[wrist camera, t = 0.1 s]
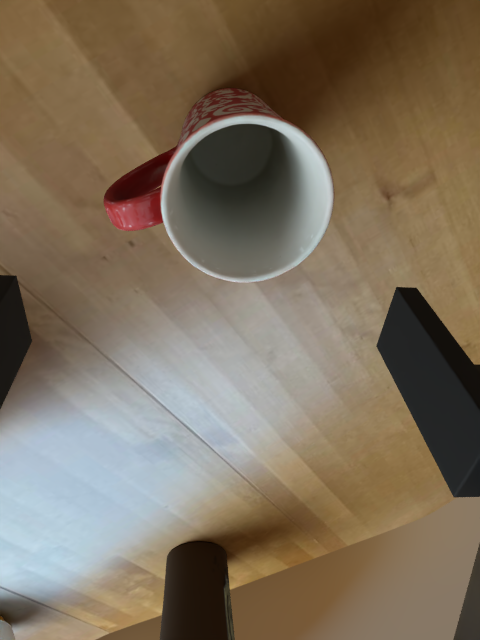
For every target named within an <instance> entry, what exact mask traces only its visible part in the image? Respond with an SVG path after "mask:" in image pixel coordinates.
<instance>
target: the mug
mask: <svg viewBox="0 0 480 640" xmlns="http://www.w3.org/2000/svg"><path fill="white" fill-rule="evenodd" d="M160 185H161V187H159V186H160ZM157 187H159V188H157ZM156 188H157V189H156ZM154 189H155V190H154ZM333 204H334V185H333V178H332V174H331V170H330V168H329V165H328V162H327V160H326V158H325V156H324V154H323V153H322V151H321V149H320V148H319V147H318V145H317V144H316V143H315V141H314V140H313V139H312V138H311V137H310V136H309V135H308V134H307V133H306V132H305V131H303V130H302V129H300V128H299V127H298V126H296V125H294V124H293V123H291V122H289V121H287V120H285V119H283V118H282V117H280V116H279V115H278V114H277V113H276V112H274V111H273V110H272V109H271V108H270V107H269V106H268V105H267V104H266V103H265V102H264V101H262V100H261V99H260V98H259V97H258V96H256V95H254V94H252V93H251V92H248V91H245V90H242V89H237V88H225V89H220V90H216V91H213V92H211V93H209V94H207V95H206V96H204V97H203V98H201V99H200V100H199V101H198V102H197V103H196V104H195V105H194V106H193V107H192V109H191V110H190V112H189V114H188V115H187V117H186V119H185V122H184V125H183V128H182V133H181V136H180V139H179V142H178V145H177V146H176V147H175V148H173V149H171V150H169V151H167V152H165V153H163V154H161V155H159V156H157V157H155V158H153V159H151V160H149V161H147V162H145V163H144V164H142V165H140V166H138V167H137V168H135V169H134V170H132V171H130V172H129V173H127V174H125V175H124V176H122V177H121V178H120V179H118V180H117V181H116V182H115V183H114V184H112V185H111V186H110V187H109V189H108V190H107V191H106V193H105V196H104V206H105V209H106V212H107V214H108V216H109V218H110V220H111V222H112V223H113V225H114V226H115V227H117V228H118V229H121V230H126V231H134V230H141V229H145V228H148V227H152V226H155V225H158V224H160V223H162V222H164V225H165V228H166V230H167V233H168V235H169V237H170V239H171V241H172V243H173V244H174V246H175V247H176V248H177V250H178V251H179V252H180V254H181V255H182V256H183V257H184V258H185V259H186V260H187V261H188V262H190V263H191V264H192V265H193V266H194V267H196V268H197V269H199V270H200V271H202V272H204V273H206V274H208V275H210V276H213V277H216V278H218V279H222V280H226V281H232V282H257V281H262V280H267V279H270V278H273V277H276V276H279V275H281V274H283V273H285V272H287V271H289V270H291V269H292V268H294V267H296V266H297V265H298V264H300V263H301V262H302V261H303V260H305V259H306V258H307V257H308V256H309V255H310V254H311V253H312V251H313V250H314V249H315V248H316V247H317V245H318V244H319V242H320V241H321V239H322V238H323V236H324V234H325V232H326V230H327V227H328V225H329V222H330V219H331V215H332V211H333Z"/></svg>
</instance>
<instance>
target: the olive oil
mask: <svg viewBox="0 0 480 640" xmlns="http://www.w3.org/2000/svg"><path fill="white" fill-rule="evenodd" d="M160 640H235V638H234V630H233V619H232V609H231V599H230V588H229V578H228V566H227V555H226V552H225V550H224V549H223V548H221V547H220V546H218V545H216V544H213V543H208V542H192V543H186V544H183V545H180V546H178V547H176V548H174V549H173V550H172V551H171V552H170V553H169V554H168V556H167V563H166V576H165V590H164V601H163V611H162V622H161V633H160Z"/></svg>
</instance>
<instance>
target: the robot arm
mask: <svg viewBox="0 0 480 640" xmlns="http://www.w3.org/2000/svg"><path fill="white" fill-rule="evenodd" d="M31 342H32V339H31V334H30V330H29V326H28V322H27V318H26V314H25V310H24V305H23V301H22V297H21V293H20V289H19V285H18V281H17V276H8V275H0V409H1V406H2V404H3V402H4V400H5V398H6V396H7V394H8V391H9V389H10V387H11V385H12V383H13V381H14V379H15V377H16V374H17V372H18V370H19V368H20V366H21V364H22V362H23V359H24V357H25V355H26V353H27V351H28V349H29V347H30V344H31ZM377 348H378V350H379V352H380V354H381V356H382V358H383V360H384V362H385V364H386V366H387V368H388V369H389V371H390V373H391V375H392V377H393V379H394V381H395V383H396V385H397V387H398V389H399V391H400V393H401V395H402V397H403V399H404V401H405V403H406V405H407V407H408V409H409V411H410V412H411V414H412V416H413V418H414V420H415V422H416V424H417V426H418V428H419V430H420V432H421V434H422V436H423V438H424V440H425V442H426V444H427V446H428V448H429V450H430V452H431V453H432V455H433V457H434V459H435V461H436V463H437V465H438V467H439V469H440V471H441V473H442V475H443V477H444V479H445V481H446V483H447V485H448V487H449V489H450V491H451V493H452V495H453V496H454V497H479V496H480V365H474V364H473V363H472V361H471V360H470V359H469V357H468V356H467V355H466V353H465V352H464V351H463V349H462V348H461V347H460V345H459V344H458V343H457V341H456V340H455V339H454V337H453V336H452V335H451V333H450V332H449V331H448V329H447V328H446V327H445V325H444V324H443V323H442V321H441V320H440V319H439V317H438V316H437V315H436V313H435V312H434V311H433V309H432V308H431V307H430V305H429V304H428V303H427V301H426V300H425V299H424V297H423V296H422V295H421V293H420V292H419V291H418V289H417V288H405V287H396V290H395V293H394V296H393V299H392V302H391V305H390V308H389V311H388V314H387V317H386V319H385V322H384V325H383V328H382V331H381V334H380V337H379V340H378V343H377ZM454 640H480V544H479V548H478V551H477V555H476V559H475V562H474V566H473V570H472V574H471V577H470V581H469V585H468V588H467V592H466V596H465V600H464V603H463V607H462V611H461V614H460V618H459V622H458V625H457V629H456V633H455V636H454Z"/></svg>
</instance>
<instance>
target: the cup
mask: <svg viewBox="0 0 480 640" xmlns="http://www.w3.org/2000/svg"><path fill="white" fill-rule="evenodd" d="M0 640H15V636H14V633H13V630H12V627H11V625H10V624H8V623H7V622H5V621H4V619H3V617H1V616H0Z"/></svg>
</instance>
